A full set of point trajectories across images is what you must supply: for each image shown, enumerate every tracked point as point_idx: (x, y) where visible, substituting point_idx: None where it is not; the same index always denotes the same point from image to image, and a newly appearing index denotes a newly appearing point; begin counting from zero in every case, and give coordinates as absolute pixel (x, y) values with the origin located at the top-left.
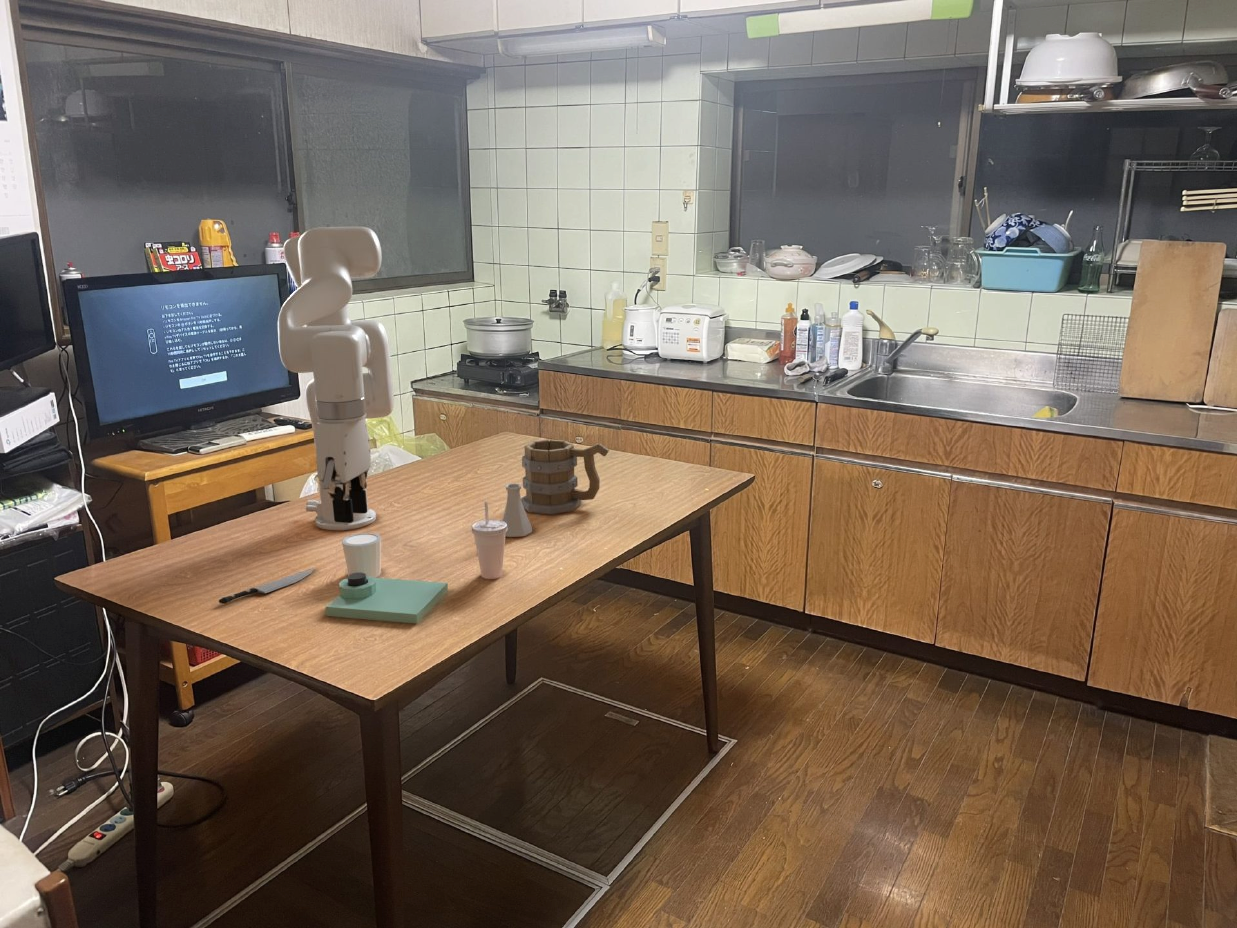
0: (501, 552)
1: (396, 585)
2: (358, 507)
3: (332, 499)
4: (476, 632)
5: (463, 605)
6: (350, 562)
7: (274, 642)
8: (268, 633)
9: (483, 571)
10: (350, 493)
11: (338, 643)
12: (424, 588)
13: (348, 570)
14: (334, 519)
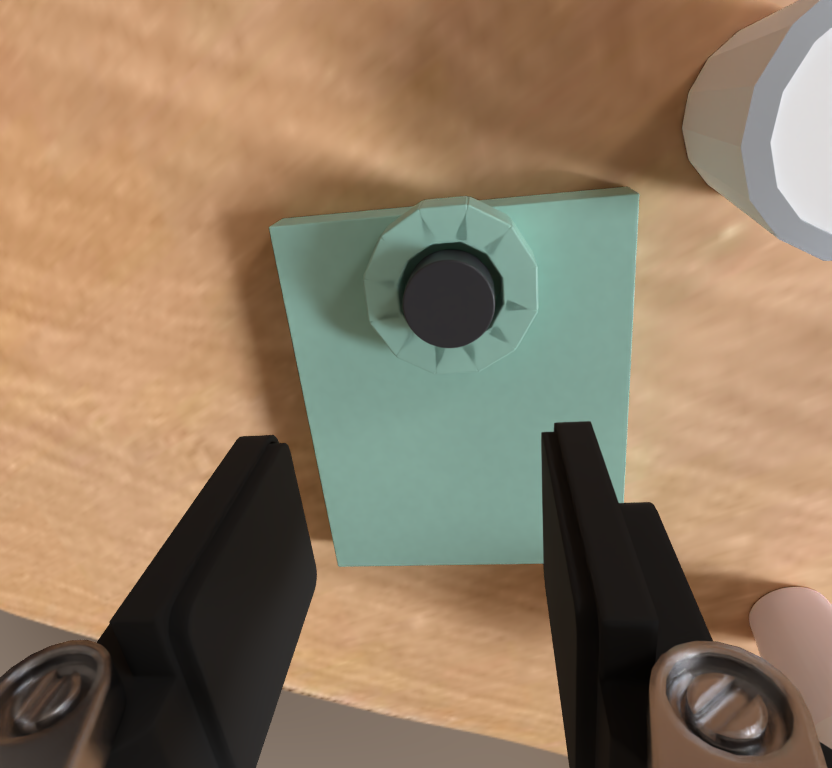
0: None
1: (559, 400)
2: (547, 564)
3: (52, 663)
4: (355, 685)
5: (514, 610)
6: (714, 91)
7: (14, 159)
8: (52, 73)
9: (764, 625)
10: (569, 634)
11: (129, 386)
12: None
13: (721, 53)
14: (238, 442)
